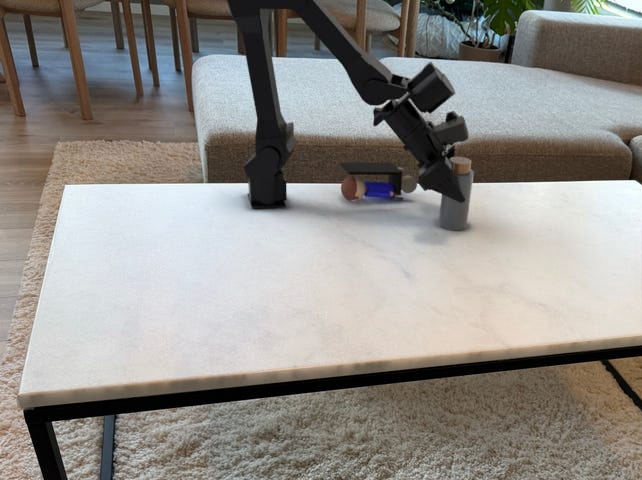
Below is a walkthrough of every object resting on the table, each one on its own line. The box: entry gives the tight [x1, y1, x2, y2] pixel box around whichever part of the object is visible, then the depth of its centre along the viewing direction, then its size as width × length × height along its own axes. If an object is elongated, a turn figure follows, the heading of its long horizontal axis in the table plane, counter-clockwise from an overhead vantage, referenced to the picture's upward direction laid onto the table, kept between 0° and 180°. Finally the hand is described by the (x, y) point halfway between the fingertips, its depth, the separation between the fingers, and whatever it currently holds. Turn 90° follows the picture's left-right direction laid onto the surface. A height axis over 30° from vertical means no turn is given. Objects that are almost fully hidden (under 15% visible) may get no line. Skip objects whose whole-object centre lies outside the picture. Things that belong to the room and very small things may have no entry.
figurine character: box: [339, 161, 418, 202], centre depth 141 cm, size 7×8×15 cm
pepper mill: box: [437, 156, 475, 232], centre depth 133 cm, size 6×6×13 cm
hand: (463, 193), depth 133 cm, fingers open, 7 cm apart
